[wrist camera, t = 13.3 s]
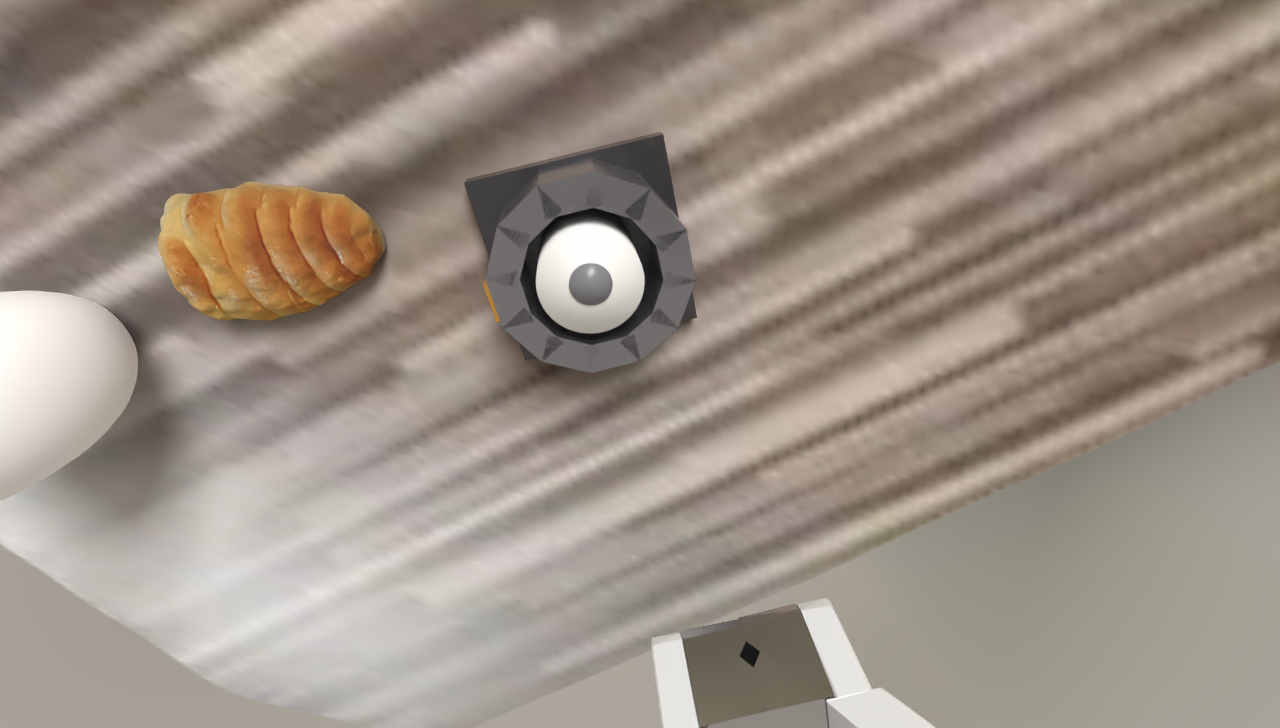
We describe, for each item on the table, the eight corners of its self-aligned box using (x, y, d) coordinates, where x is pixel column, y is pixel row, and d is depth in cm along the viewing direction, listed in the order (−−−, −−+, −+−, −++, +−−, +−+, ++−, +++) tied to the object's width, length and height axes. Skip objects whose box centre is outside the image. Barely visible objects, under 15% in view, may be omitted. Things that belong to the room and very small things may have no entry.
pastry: (360, 158, 30) (335, 171, 26) (407, 285, 33) (390, 312, 29) (167, 193, 29) (117, 211, 26) (233, 318, 32) (196, 349, 29)
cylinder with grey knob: (623, 197, 31) (632, 219, 27) (642, 288, 33) (653, 321, 29) (527, 219, 31) (522, 245, 27) (553, 309, 33) (552, 345, 29)
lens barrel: (660, 132, 30) (676, 144, 26) (693, 310, 35) (712, 347, 31) (467, 179, 30) (451, 200, 26) (526, 352, 35) (521, 394, 31)
